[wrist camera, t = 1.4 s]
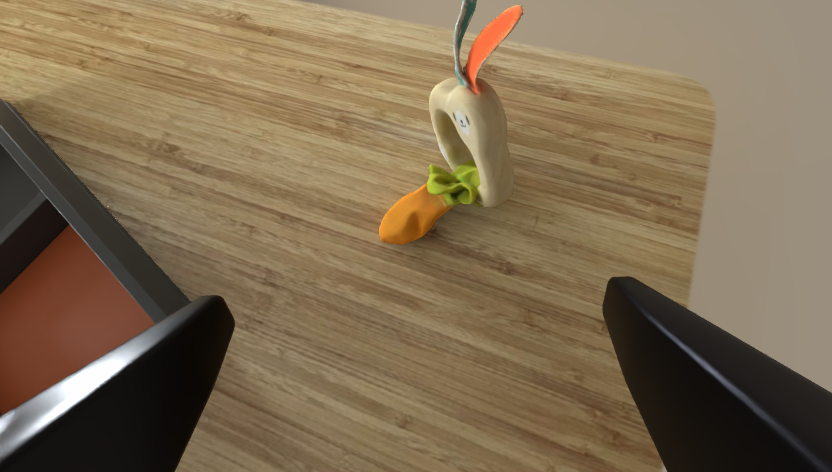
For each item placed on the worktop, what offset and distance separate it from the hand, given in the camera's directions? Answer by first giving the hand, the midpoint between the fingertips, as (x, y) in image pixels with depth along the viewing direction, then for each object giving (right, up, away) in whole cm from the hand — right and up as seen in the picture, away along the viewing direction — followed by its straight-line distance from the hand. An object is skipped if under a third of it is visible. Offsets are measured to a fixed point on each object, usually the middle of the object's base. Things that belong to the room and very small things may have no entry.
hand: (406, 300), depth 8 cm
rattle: (+1, +5, +15) cm, 16 cm away
